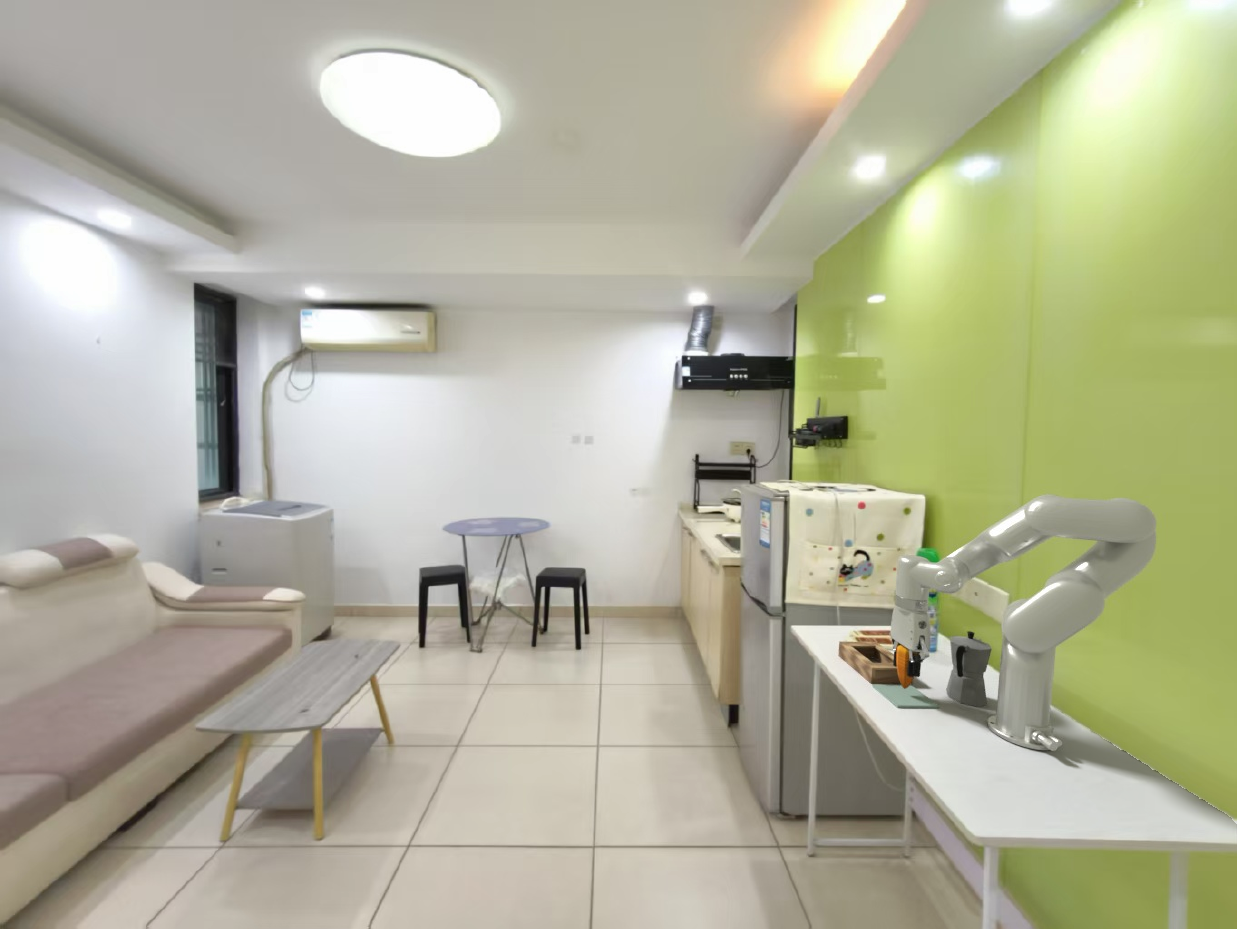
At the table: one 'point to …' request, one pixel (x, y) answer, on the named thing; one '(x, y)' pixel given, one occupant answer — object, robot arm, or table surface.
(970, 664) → the coffeepot
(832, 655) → the table surface
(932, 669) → the table surface
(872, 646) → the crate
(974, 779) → the table surface
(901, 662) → the carrot
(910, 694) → the pad
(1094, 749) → the table surface
